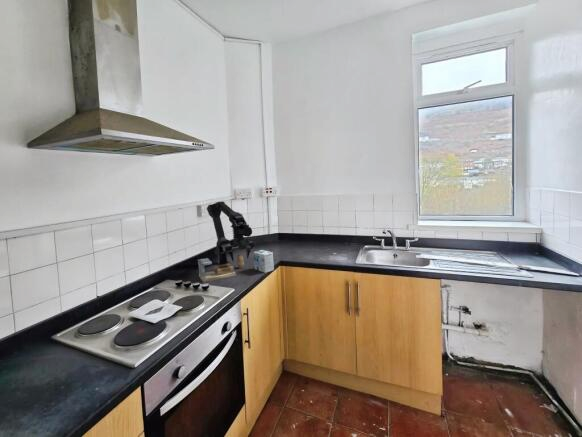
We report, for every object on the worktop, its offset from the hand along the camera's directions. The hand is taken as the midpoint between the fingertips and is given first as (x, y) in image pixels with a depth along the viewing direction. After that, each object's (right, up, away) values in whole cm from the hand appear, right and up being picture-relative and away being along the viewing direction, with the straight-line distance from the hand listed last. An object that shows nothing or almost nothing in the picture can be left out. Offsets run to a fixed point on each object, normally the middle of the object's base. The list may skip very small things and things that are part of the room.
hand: (240, 259), depth 171 cm
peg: (0, -5, +1) cm, 5 cm away
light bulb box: (+15, -5, -6) cm, 17 cm away
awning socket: (-11, -7, -12) cm, 18 cm away
